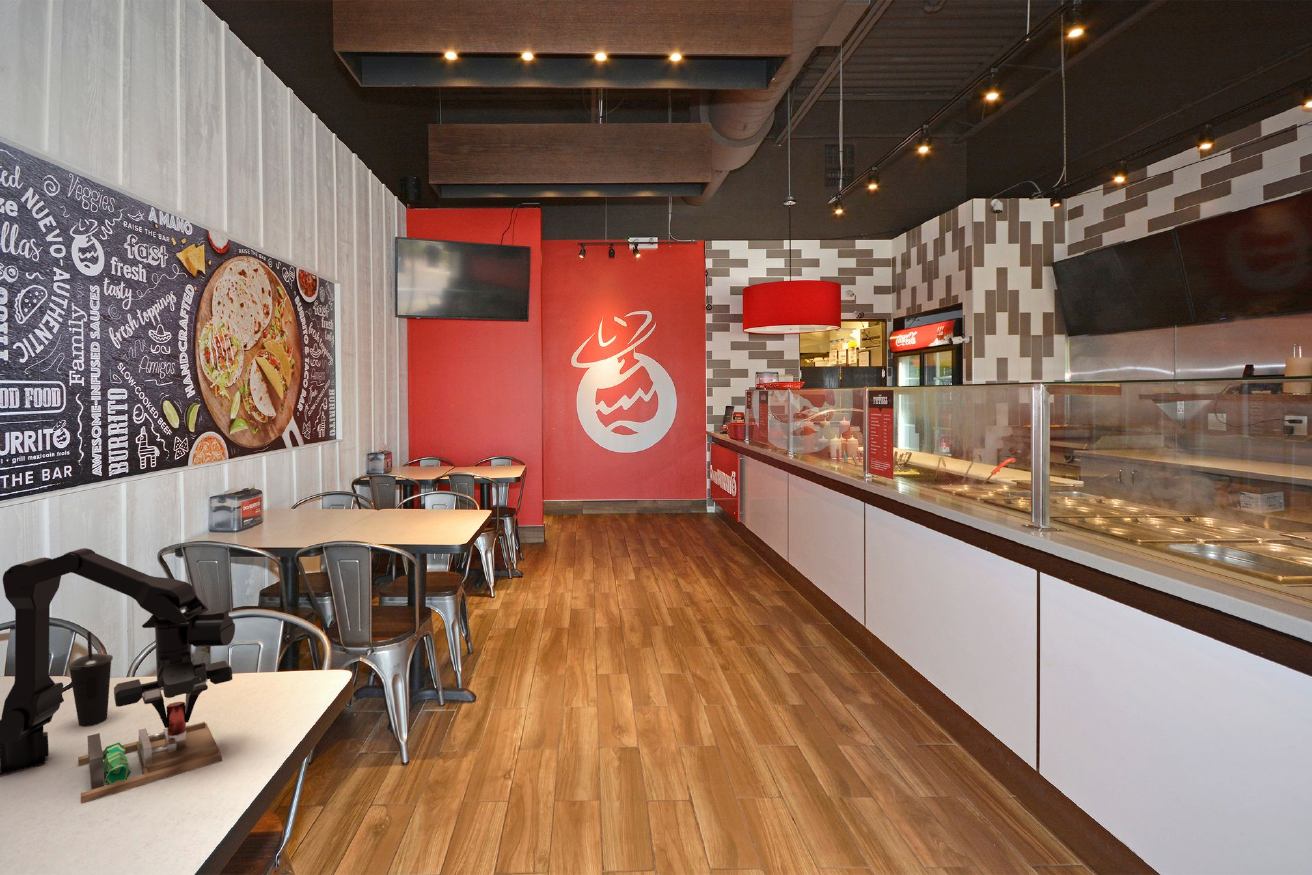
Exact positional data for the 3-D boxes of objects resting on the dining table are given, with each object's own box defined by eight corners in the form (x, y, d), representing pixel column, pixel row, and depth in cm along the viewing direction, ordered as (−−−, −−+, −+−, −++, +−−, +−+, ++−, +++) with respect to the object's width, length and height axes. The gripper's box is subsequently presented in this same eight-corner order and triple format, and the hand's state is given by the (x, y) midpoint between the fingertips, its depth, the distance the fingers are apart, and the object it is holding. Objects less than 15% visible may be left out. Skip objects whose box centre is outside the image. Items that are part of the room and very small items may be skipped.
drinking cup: (124, 714, 153) (120, 626, 152) (93, 730, 145) (88, 638, 144) (93, 712, 153) (89, 625, 152) (60, 728, 146) (56, 637, 145)
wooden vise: (81, 803, 118) (79, 769, 118) (78, 763, 132) (76, 732, 131) (222, 760, 132) (221, 730, 132) (206, 728, 146) (205, 700, 145)
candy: (135, 775, 126) (119, 761, 124) (116, 791, 124) (99, 777, 122) (130, 751, 135) (114, 738, 133) (112, 766, 133) (96, 753, 131)
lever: (144, 766, 127) (142, 722, 127) (139, 747, 135) (137, 705, 134) (190, 753, 132) (188, 710, 132) (183, 735, 139) (181, 694, 139)
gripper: (116, 671, 122) (119, 756, 122) (236, 646, 134) (239, 723, 135) (112, 654, 130) (115, 734, 131) (225, 632, 142) (228, 705, 143)
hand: (176, 724), depth 134 cm, fingers closed on lever, 3 cm apart
